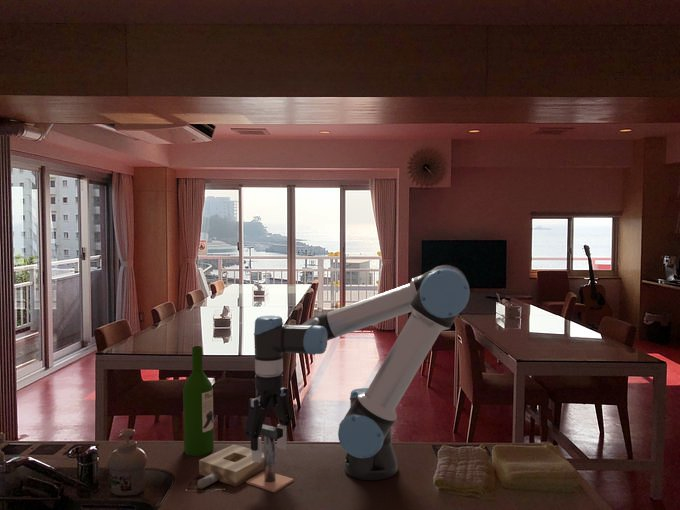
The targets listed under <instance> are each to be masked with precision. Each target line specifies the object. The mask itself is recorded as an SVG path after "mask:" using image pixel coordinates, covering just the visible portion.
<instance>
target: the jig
mask: <svg viewBox="0 0 680 510" xmlns="http://www.w3.org/2000/svg"><path fill="white" fill-rule="evenodd" d="M261 452H262V462H260V463H258V462H255V461H252V450H251V448H250V447H249V448H248V447H245V446H242V445H237V444H231V445H229V446H227V447H225V448H223V449H220V450H219V451H215V452H214V453H212V454H210V455H208V456H206V457H203V458H201V459H199V460H198V474H199V475H200V476H204V477H202V478H200V479H198V480H197V486H198V487H197V488H199V489H201V490H202V489H205V488H206V487H209V486H210V485H213V484H214V483H217V482H218V481H219V482H222V483H224V484H227V485H230V486H233V487H238V486H240V485H241V484H243V483H246V481H247V480H249V479H251V478H253V477H255V476H256V475H258V474H260V473H262V472H264V451H261Z"/></svg>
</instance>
